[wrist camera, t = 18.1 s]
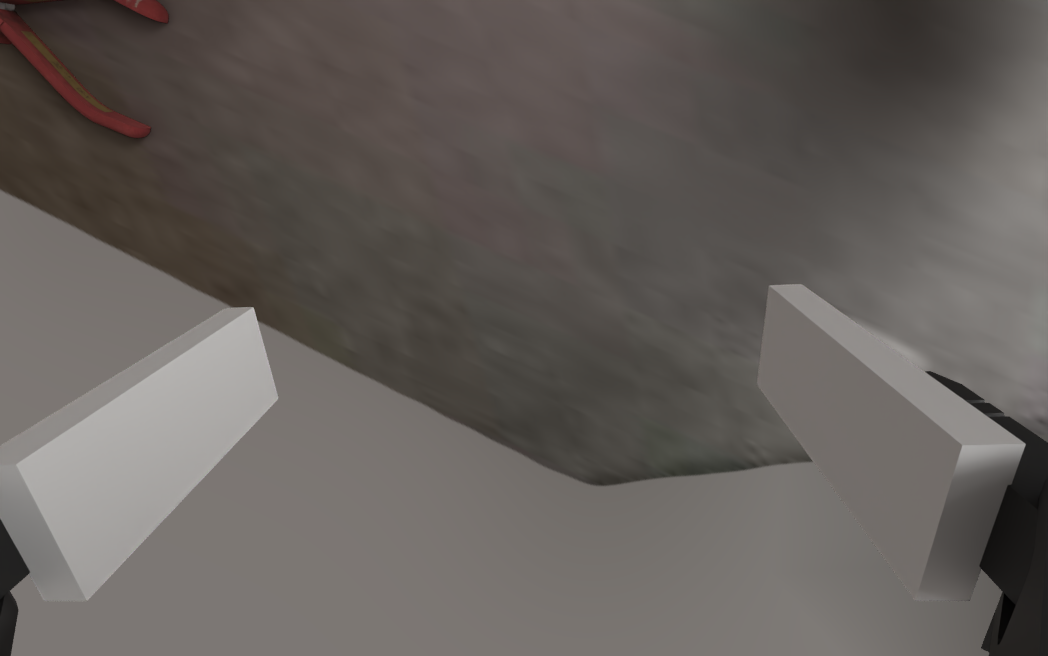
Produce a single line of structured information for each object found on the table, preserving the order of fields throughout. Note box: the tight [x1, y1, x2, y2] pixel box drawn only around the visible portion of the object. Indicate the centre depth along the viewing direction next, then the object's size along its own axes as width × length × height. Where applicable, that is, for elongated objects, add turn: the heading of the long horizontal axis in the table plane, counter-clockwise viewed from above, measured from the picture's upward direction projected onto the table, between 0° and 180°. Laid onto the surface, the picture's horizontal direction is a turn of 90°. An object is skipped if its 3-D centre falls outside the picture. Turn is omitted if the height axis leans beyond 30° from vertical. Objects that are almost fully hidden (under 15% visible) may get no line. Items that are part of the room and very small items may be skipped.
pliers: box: [0, 0, 169, 138], centre depth 42 cm, size 12×20×3 cm, turn 65°
